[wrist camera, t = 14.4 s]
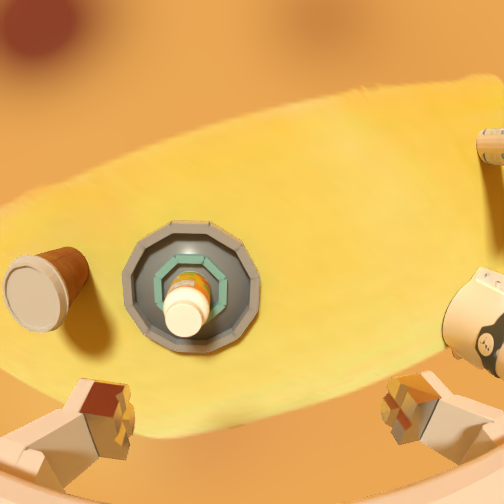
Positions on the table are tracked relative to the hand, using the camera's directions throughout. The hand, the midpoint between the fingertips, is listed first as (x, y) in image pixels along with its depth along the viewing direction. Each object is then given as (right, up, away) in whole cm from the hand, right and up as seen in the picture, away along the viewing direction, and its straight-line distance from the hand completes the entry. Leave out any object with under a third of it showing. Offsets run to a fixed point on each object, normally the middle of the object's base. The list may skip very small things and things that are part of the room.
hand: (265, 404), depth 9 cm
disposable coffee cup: (-26, +2, +32) cm, 42 cm away
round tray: (-9, 0, +35) cm, 36 cm away
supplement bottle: (-9, 0, +34) cm, 35 cm away
